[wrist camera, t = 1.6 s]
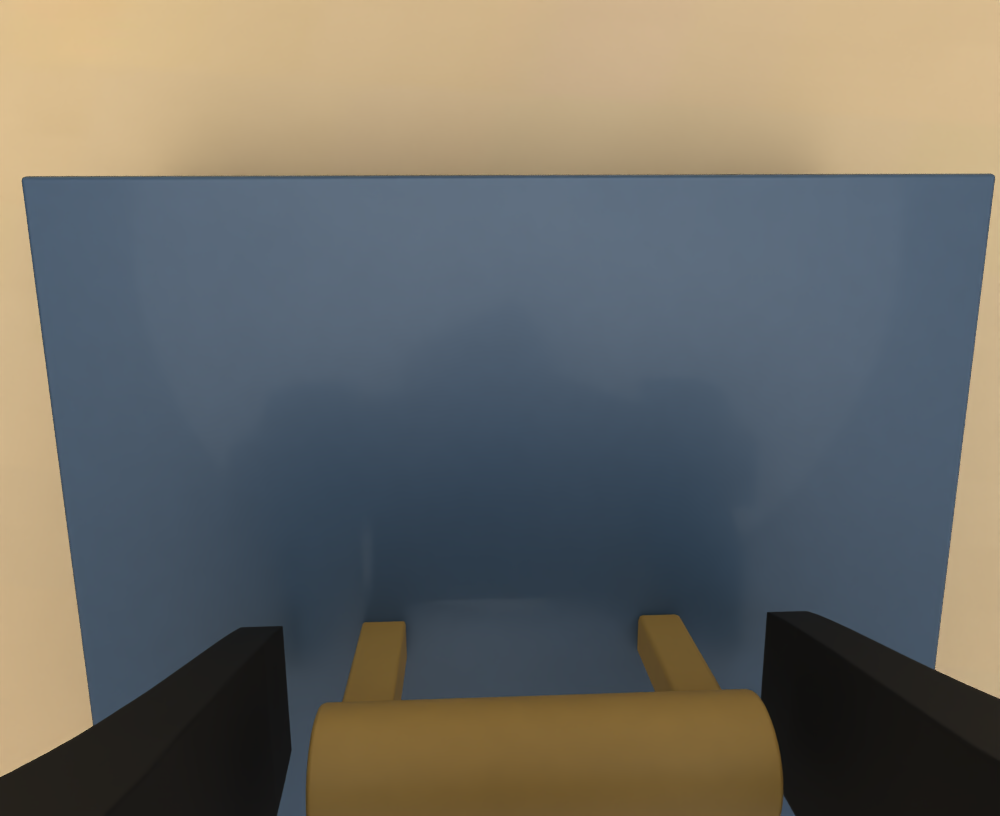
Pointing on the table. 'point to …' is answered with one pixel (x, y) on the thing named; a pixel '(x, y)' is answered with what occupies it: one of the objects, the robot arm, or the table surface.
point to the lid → (508, 459)
